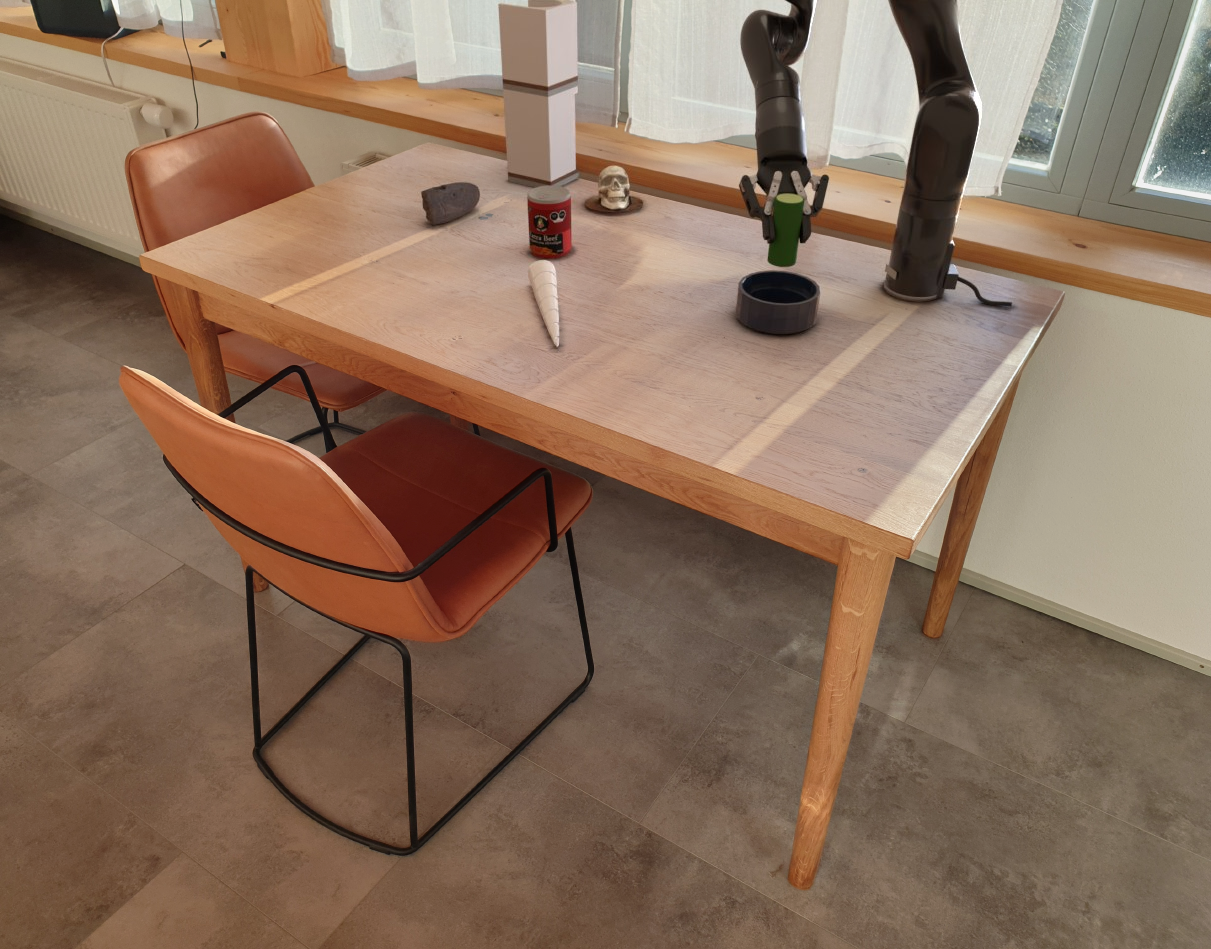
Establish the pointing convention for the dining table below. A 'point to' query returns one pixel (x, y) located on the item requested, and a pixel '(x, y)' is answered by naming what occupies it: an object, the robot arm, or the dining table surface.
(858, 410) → the dining table surface
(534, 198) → the canned food
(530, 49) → the striped white pillar
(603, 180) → the skull
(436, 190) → the perforated stone tool
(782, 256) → the cucumber
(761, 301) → the bowl
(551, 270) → the unicorn horn
